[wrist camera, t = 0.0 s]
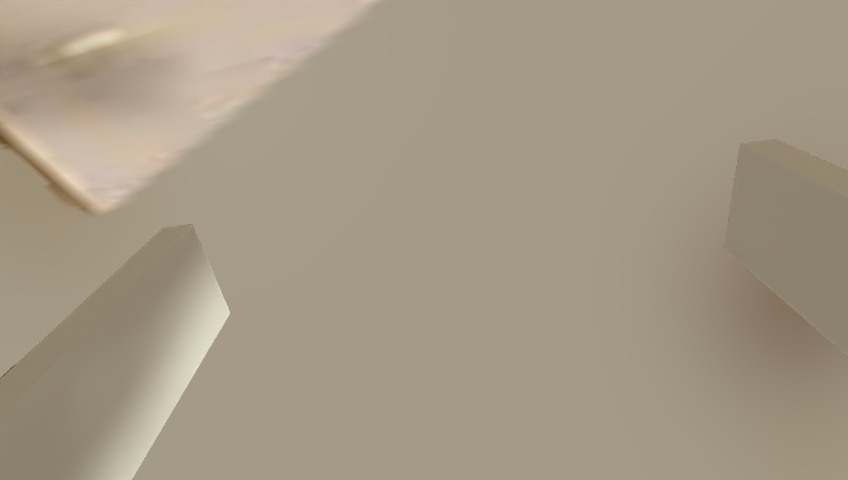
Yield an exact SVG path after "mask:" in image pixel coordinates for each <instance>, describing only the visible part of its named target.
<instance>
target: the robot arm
mask: <svg viewBox="0 0 848 480" xmlns="http://www.w3.org/2000/svg"><path fill="white" fill-rule="evenodd" d="M724 249H725V250H726V251H727V252H728V253H730V254H731V255H732V256H733V257H734V258H735V259H736V260H738V261H739V262H740V263H741V264H742V265H743V266H745V267H746V268H747V269H748V270H749V271H750V272H751V273H753V274H754V275H755V276H756V277H757V278H758V279H759V280H761V281H762V282H763V283H764V284H765V285H766V286H768V287H769V288H770V289H771V290H772V291H773V292H774V293H776V294H777V295H778V296H779V297H780V298H781V299H782V300H783V301H785V302H786V303H787V304H788V305H789V306H790V307H792V308H793V309H794V310H795V311H796V312H797V313H799V314H800V315H801V316H802V317H803V318H804V319H805V320H806V321H808V322H809V323H810V324H811V325H812V326H813V327H814V328H816V329H817V330H818V331H819V332H820V333H821V334H822V335H824V336H825V337H826V338H827V339H828V340H829V341H830V342H832V343H833V344H834V345H835V346H837V348H839V349H840V350H841V351H842V352H843V353H844V354H845V355H847V356H848V170H846V169H843V168H841V167H839V166H836V165H834V164H832V163H829V162H827V161H825V160H823V159H820V158H818V157H816V156H813V155H811V154H809V153H806V152H804V151H802V150H799V149H797V148H795V147H793V146H790V145H788V144H786V143H783V142H781V141H779V140H776V139H770V140H764V141H757V142H749V143H743V144H740V146H739V153H738V159H737V166H736V172H735V178H734V185H733V191H732V198H731V204H730V210H729V217H728V223H727V229H726V236H725V242H724ZM229 314H230V311H229V309H228V307H227V304H226V302H225V299H224V297H223V295H222V292H221V290H220V288H219V285H218V283H217V281H216V278H215V276H214V274H213V271H212V269H211V267H210V264H209V262H208V260H207V257H206V255H205V253H204V250H203V248H202V245H201V243H200V241H199V239H198V236H197V234H196V231H195V229H194V227H193V224H188V225H181V226H175V227H167V228H163V229H161V230H160V231H159V233H157V234H156V235H155V236H154V237H153V238H152V239H151V240H150V241H149V242H147V243H146V245H144V246H143V247H142V248H141V249H140V250H139V251H138V252H137V253H136V254H135V255H133V256H132V257H131V258H130V259H129V260H128V261H127V262H126V263H125V264H124V265H123V266H122V267H121V268H119V269H118V270H117V271H116V272H115V273H114V274H113V275H112V276H111V277H110V278H109V279H108V280H107V281H105V283H103V284H102V285H101V286H100V287H99V288H98V289H97V290H96V291H95V292H94V293H93V294H91V296H89V297H88V298H87V299H86V300H85V301H84V302H83V303H82V304H81V305H80V306H79V307H78V308H76V309H75V310H74V311H73V312H72V313H71V314H70V315H69V316H68V317H67V318H66V319H65V320H63V322H61V323H60V324H59V325H58V326H57V327H56V328H55V329H54V330H53V331H52V332H51V333H49V334H48V335H47V336H46V337H45V338H44V339H43V340H42V341H41V342H40V343H39V344H38V345H37V346H35V347H34V348H33V349H32V350H31V351H30V352H29V353H28V354H27V355H26V356H25V357H24V358H23V359H22V360H20V361H19V362H18V363H17V364H16V365H14V366H13V367H12V368H11V369H10V370H9V371H8V372H7V373H6V374H4V375H3V376H2V377H1V378H0V480H132V478H133V477H134V475H135V473H136V472H137V470H138V468H139V466H140V464H141V463H142V461H143V460H144V458H145V456H146V455H147V453H148V451H149V449H150V448H151V446H152V444H153V443H154V441H155V439H156V438H157V436H158V434H159V432H160V431H161V429H162V428H163V426H164V424H165V422H166V421H167V419H168V417H169V416H170V414H171V412H172V411H173V409H174V407H175V406H176V404H177V402H178V401H179V399H180V397H181V395H182V394H183V392H184V390H185V389H186V387H187V385H188V383H189V382H190V380H191V378H192V377H193V375H194V373H195V372H196V370H197V368H198V367H199V365H200V363H201V362H202V360H203V358H204V356H205V355H206V353H207V351H208V350H209V348H210V346H211V344H212V343H213V341H214V340H215V338H216V336H217V334H218V333H219V331H220V329H221V328H222V326H223V324H224V323H225V321H226V319H227V318H228V316H229Z"/></svg>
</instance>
